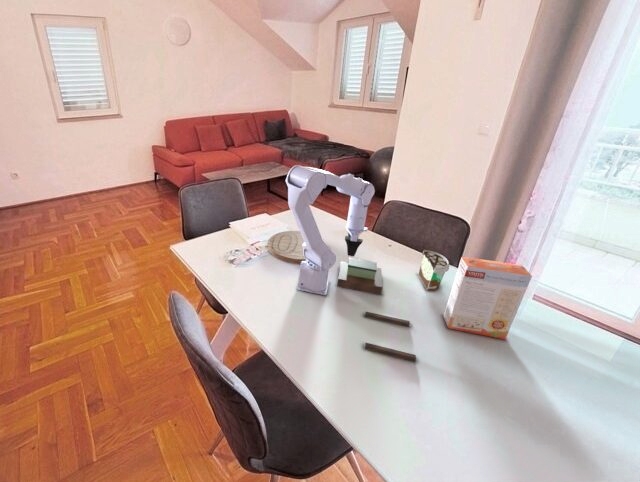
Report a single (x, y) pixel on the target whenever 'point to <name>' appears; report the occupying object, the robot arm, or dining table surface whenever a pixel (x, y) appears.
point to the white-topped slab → (359, 281)
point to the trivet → (288, 246)
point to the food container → (432, 269)
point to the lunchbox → (361, 268)
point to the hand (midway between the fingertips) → (351, 250)
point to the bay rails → (384, 349)
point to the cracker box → (486, 296)
